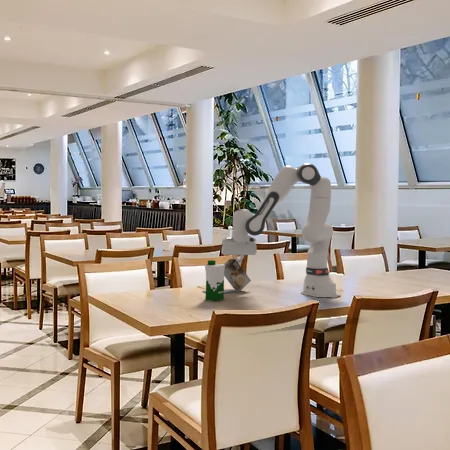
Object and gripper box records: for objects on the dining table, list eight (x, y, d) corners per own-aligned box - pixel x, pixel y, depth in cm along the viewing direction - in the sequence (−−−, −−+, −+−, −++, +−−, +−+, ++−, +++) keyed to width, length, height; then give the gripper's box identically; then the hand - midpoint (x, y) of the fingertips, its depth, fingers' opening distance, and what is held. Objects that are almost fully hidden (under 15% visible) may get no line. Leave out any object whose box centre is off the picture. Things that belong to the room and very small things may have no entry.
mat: (239, 292, 320) (239, 292, 320) (208, 294, 313) (208, 294, 313) (231, 289, 329) (231, 289, 329) (202, 291, 322) (202, 291, 322)
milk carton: (212, 297, 305) (212, 259, 304) (226, 299, 300) (227, 260, 299) (202, 300, 298) (203, 261, 296) (217, 302, 293) (217, 262, 292)
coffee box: (245, 279, 330) (230, 258, 326) (251, 280, 325) (235, 258, 320) (234, 290, 327) (218, 268, 322) (240, 291, 321) (224, 269, 317)
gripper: (224, 238, 316) (223, 263, 317) (258, 238, 324) (257, 263, 325) (220, 237, 322) (219, 262, 323) (253, 237, 330) (252, 261, 331)
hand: (238, 262), depth 324 cm, fingers closed
